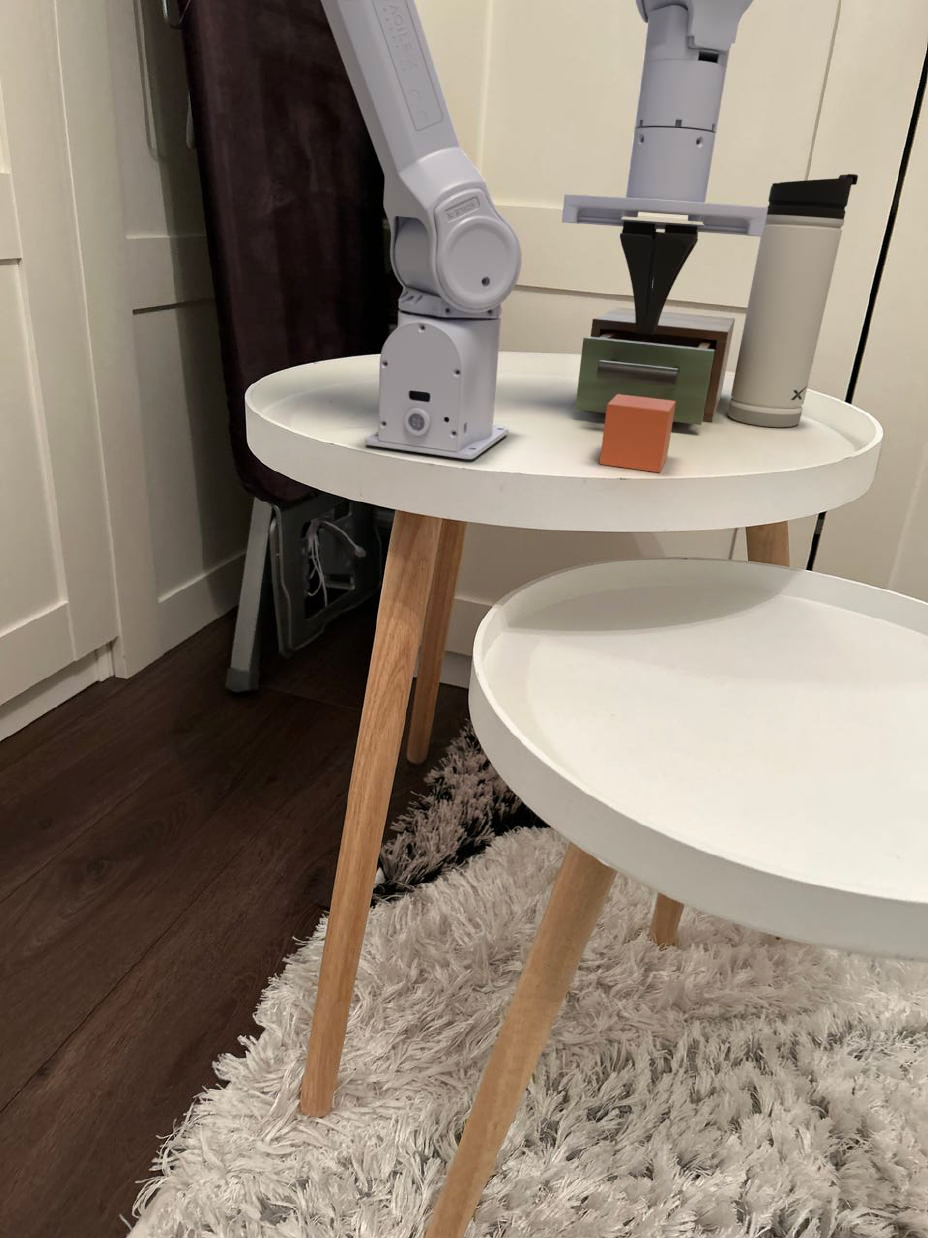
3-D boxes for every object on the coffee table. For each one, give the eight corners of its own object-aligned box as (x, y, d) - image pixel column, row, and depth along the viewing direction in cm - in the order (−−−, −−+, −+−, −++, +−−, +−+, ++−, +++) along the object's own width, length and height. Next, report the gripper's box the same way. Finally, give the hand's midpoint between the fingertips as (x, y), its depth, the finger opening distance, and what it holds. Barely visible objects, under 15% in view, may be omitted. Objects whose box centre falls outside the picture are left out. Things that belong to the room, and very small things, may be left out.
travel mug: (812, 430, 77) (871, 173, 68) (737, 425, 76) (786, 167, 68) (790, 415, 82) (841, 176, 74) (719, 410, 82) (763, 171, 74)
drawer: (696, 436, 67) (710, 358, 65) (563, 419, 70) (571, 343, 67) (711, 399, 82) (722, 335, 80) (601, 386, 85) (608, 323, 82)
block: (659, 472, 60) (669, 411, 58) (599, 464, 61) (607, 403, 59) (666, 459, 64) (676, 400, 62) (609, 451, 65) (616, 393, 63)
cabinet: (712, 421, 77) (728, 331, 74) (582, 405, 80) (592, 318, 77) (720, 397, 89) (735, 318, 86) (607, 383, 92) (617, 307, 89)
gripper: (781, 142, 64) (744, 337, 69) (584, 133, 67) (564, 318, 73) (781, 131, 58) (741, 346, 63) (565, 122, 61) (545, 326, 67)
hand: (645, 332), depth 68 cm, fingers closed
